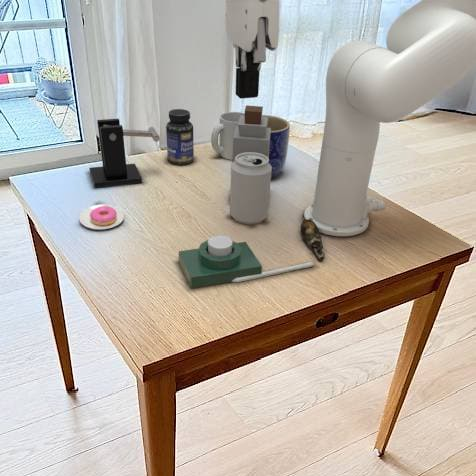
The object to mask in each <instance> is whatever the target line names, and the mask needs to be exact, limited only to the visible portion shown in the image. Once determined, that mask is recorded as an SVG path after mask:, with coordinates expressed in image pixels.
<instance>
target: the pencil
mask: <svg viewBox="0 0 476 476" xmlns="http://www.w3.org/2000/svg"><path fill="white" fill-rule="evenodd" d="M313 267H314V263H313V261H309V262H304V263H299V264H295V265H290V266H284V267H280V268H277V269H271V270H265V271H262V273H261V274H257V275H251V276H245V277H239V278H235V279H234V280H233V281H232V282H231V283H236V284H237V283H241V282H246V281H251V280H256V279H260V278H265V277H271V276H274V275H275V276H276V275H279V274H284V273H289V272H294V271H298V270H303V269H309V268H313Z"/></svg>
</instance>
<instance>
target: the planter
mask: <svg viewBox="0 0 476 476" xmlns="http://www.w3.org/2000/svg"><path fill="white" fill-rule="evenodd" d="M262 117H268V121H267V127H266V128H271V133H270V146H269V162H268V163H269V164H270V165H271V166H272V171H271V178H274V177H276V176H278V175H279V174H280V173H281V172H282V170H283V169H284V167H285V165H286V163H287V162H286V161H287V156H288V151H289V150H288V149H289V144H290V143H289V142H290V132H291V131H290V130H291V124H290V122H289V121H288V120H287V119H285V118H283V117H279V116H275V115H269V114H262Z"/></svg>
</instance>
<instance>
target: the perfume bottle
mask: <svg viewBox="0 0 476 476" xmlns="http://www.w3.org/2000/svg"><path fill="white" fill-rule="evenodd" d="M244 107H245V108H244V112H243V113H245V116H244V115H240V118H239V122H238V126H237V127H236V130H235V133H234V137H233V160H231V161H232V163H233V162H234V161H235V157H236V156H237V155H238V154H241V153H246V152H255V153H260V154H263V155H265V156H267V157H268V159H269V146H270V133H271V128H266V127H267V121H268V117H262V115H263V110H264V106H259V105H245V106H244ZM232 163H231V164H232Z"/></svg>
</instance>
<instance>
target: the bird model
mask: <svg viewBox="0 0 476 476" xmlns="http://www.w3.org/2000/svg"><path fill="white" fill-rule="evenodd" d="M302 217H303V220H302V223H301V224H300V228H299V229H300V234H301V236H302V239H303V240H304V241H305V243H306V244H307V245H308V246H309V248H311V250H312V252H313V253H315V255H316V257H317V259H319V260H320V261H322V260H324V259H325V253H324V251H323V249H324V246H323V242H322V241H323V240H322V236H321V233H320V232H319V230H318V227H317V226H316V224H315V223H314V221H312V220H307V219H305V217H304V214H303V215H302Z"/></svg>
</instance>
